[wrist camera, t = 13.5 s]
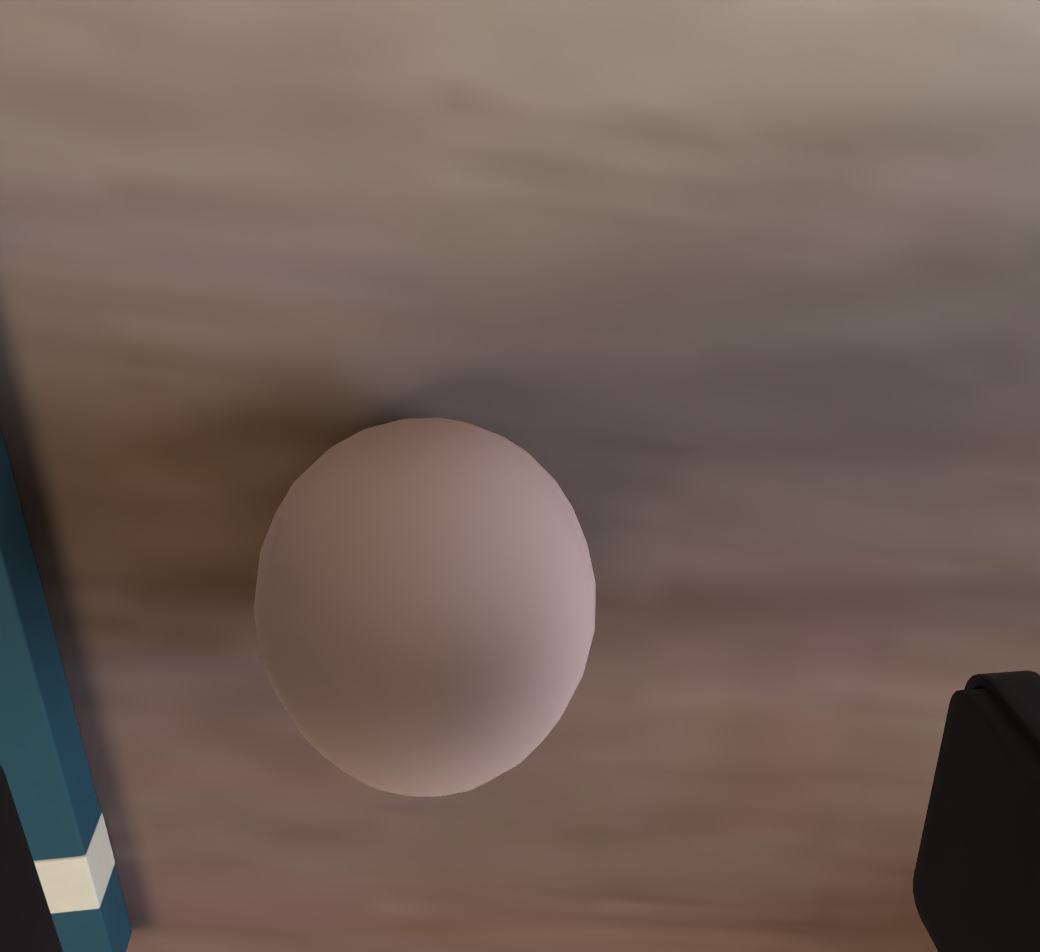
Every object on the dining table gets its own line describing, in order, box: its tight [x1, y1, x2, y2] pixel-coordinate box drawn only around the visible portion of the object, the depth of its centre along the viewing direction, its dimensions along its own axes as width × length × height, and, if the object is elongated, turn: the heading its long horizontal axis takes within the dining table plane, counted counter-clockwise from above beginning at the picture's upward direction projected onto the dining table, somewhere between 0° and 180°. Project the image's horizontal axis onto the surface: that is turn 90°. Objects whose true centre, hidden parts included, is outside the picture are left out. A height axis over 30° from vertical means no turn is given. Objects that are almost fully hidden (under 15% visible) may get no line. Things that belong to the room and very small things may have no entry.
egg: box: [254, 418, 595, 797], centre depth 15 cm, size 5×5×7 cm
